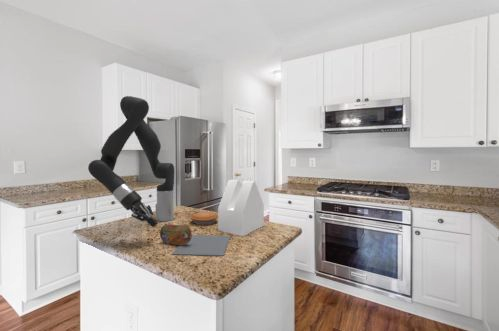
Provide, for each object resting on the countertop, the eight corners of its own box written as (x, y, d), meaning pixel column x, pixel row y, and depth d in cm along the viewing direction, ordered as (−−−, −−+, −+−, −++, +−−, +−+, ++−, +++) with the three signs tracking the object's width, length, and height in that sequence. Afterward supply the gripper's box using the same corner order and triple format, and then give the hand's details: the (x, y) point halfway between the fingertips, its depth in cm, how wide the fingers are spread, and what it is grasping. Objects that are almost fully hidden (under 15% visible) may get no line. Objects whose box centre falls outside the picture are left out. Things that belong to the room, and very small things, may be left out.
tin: (160, 243, 106) (158, 223, 105) (165, 240, 108) (163, 221, 108) (188, 246, 100) (187, 226, 99) (193, 243, 103) (192, 224, 102)
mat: (171, 254, 93) (171, 253, 93) (188, 235, 115) (188, 234, 115) (223, 256, 92) (223, 255, 92) (230, 236, 114) (230, 235, 114)
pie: (189, 219, 143) (189, 211, 143) (216, 218, 147) (216, 209, 147) (190, 227, 128) (190, 218, 128) (219, 225, 132) (219, 216, 132)
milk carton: (243, 236, 115) (243, 183, 113) (218, 230, 123) (218, 181, 122) (263, 226, 131) (263, 180, 129) (240, 221, 139) (240, 178, 138)
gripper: (124, 192, 97) (154, 223, 97) (141, 188, 110) (167, 215, 110) (111, 205, 98) (141, 236, 98) (129, 199, 111) (156, 226, 111)
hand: (155, 225), depth 104 cm, fingers closed
